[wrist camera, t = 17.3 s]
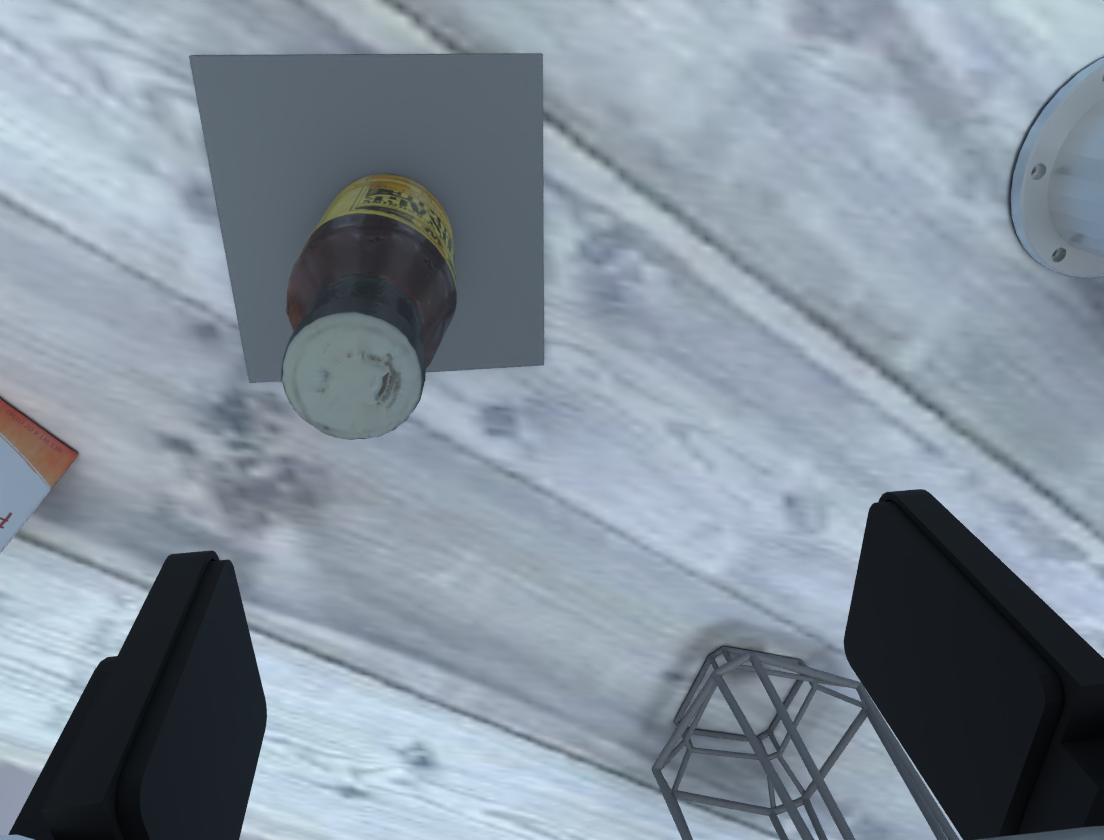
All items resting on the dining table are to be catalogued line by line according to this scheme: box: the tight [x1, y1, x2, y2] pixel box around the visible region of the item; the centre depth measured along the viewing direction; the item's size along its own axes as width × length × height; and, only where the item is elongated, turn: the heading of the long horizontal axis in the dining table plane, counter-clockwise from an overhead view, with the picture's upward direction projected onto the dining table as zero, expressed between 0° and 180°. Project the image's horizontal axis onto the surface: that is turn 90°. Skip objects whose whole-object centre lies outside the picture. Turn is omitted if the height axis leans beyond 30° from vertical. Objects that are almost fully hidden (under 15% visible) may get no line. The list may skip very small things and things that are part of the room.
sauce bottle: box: [281, 174, 457, 440], centre depth 32 cm, size 6×6×20 cm
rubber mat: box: [189, 54, 544, 383], centre depth 41 cm, size 16×16×1 cm
